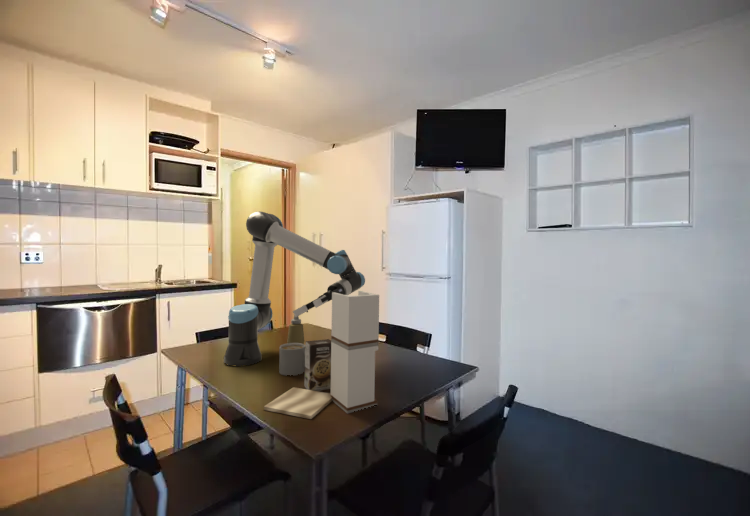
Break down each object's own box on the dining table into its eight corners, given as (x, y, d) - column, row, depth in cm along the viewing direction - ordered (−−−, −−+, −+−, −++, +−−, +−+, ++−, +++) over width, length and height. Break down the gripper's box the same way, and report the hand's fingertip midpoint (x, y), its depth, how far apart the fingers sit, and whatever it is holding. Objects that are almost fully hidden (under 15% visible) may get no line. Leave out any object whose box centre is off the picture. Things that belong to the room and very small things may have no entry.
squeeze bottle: (284, 351, 166) (284, 313, 165) (291, 346, 174) (291, 310, 173) (300, 352, 164) (301, 314, 164) (306, 347, 172) (307, 311, 172)
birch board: (263, 409, 105) (263, 406, 105) (293, 390, 120) (293, 387, 120) (311, 419, 100) (311, 415, 100) (335, 397, 115) (335, 394, 115)
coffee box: (309, 392, 118) (310, 345, 118) (303, 386, 124) (304, 340, 123) (334, 388, 122) (335, 342, 122) (328, 382, 128) (329, 338, 127)
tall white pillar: (377, 406, 109) (379, 294, 109) (347, 414, 104) (349, 296, 103) (358, 393, 119) (360, 291, 118) (330, 400, 113) (332, 292, 112)
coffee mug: (273, 373, 136) (274, 347, 135) (288, 365, 145) (288, 341, 145) (304, 378, 131) (304, 351, 131) (317, 370, 140) (317, 345, 140)
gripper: (362, 289, 145) (328, 309, 128) (325, 306, 160) (291, 325, 144) (354, 273, 145) (319, 291, 128) (318, 291, 160) (282, 309, 144)
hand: (304, 309), depth 136 cm, fingers open, 13 cm apart
